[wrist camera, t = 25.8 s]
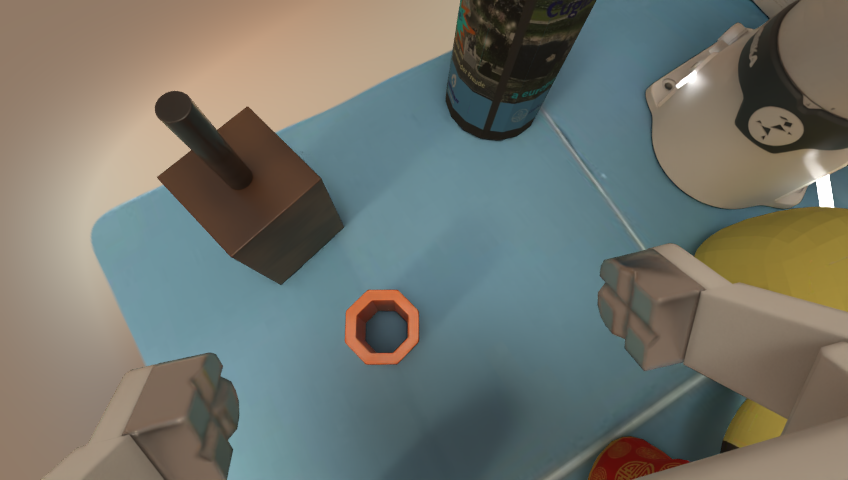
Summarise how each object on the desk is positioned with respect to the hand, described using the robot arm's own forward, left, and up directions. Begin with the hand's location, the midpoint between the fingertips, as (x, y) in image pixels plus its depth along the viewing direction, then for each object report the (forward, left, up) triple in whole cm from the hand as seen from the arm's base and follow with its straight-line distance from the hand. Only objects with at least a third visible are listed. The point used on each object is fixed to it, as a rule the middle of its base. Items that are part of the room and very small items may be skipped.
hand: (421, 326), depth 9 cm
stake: (0, -16, -31) cm, 35 cm away
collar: (0, -2, -31) cm, 31 cm away
